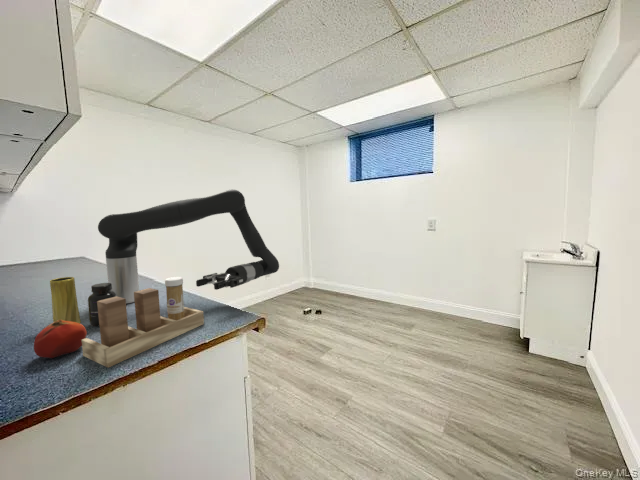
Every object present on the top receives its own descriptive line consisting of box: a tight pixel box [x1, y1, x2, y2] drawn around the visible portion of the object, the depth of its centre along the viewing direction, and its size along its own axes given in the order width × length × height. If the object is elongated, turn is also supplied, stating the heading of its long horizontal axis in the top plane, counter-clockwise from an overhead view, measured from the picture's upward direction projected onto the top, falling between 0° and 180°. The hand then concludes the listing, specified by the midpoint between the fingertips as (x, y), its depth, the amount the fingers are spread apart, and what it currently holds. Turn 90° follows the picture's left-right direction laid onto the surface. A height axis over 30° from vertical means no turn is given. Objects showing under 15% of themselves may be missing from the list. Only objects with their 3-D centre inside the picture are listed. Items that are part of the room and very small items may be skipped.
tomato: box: [33, 320, 88, 359], centre depth 63 cm, size 9×9×8 cm
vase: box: [49, 276, 82, 324], centre depth 79 cm, size 6×6×14 cm
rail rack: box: [81, 287, 205, 368], centre depth 70 cm, size 11×25×13 cm, turn 154°
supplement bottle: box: [87, 282, 117, 327], centre depth 80 cm, size 7×7×12 cm
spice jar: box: [164, 276, 185, 320], centre depth 77 cm, size 5×5×14 cm
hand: (205, 285), depth 87 cm, fingers open, 8 cm apart
